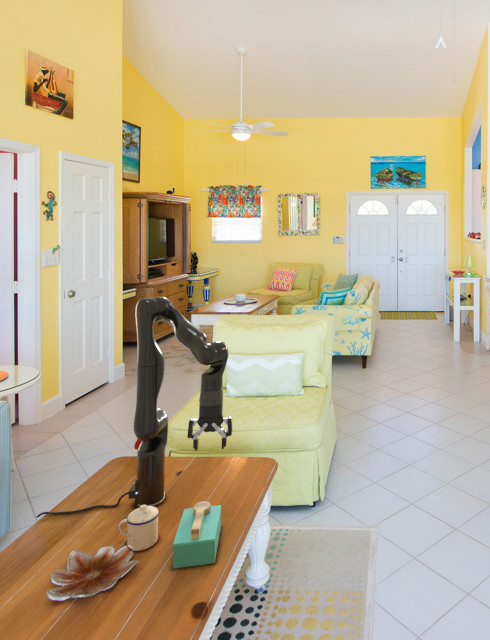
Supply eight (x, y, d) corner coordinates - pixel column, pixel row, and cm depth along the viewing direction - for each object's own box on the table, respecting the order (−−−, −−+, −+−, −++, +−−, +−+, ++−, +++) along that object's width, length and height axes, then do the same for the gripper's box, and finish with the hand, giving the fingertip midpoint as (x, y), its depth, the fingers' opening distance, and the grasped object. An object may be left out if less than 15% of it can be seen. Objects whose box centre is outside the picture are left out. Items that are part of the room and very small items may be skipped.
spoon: (204, 538, 138) (204, 528, 138) (185, 540, 137) (185, 530, 137) (211, 506, 155) (211, 497, 155) (194, 508, 153) (194, 499, 153)
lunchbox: (214, 563, 138) (214, 540, 138) (172, 568, 136) (173, 545, 136) (220, 527, 156) (221, 507, 156) (184, 531, 153) (184, 511, 153)
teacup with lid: (163, 533, 152) (163, 498, 152) (150, 552, 143) (150, 514, 143) (126, 533, 152) (127, 497, 152) (111, 552, 143) (111, 514, 143)
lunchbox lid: (214, 541, 138) (214, 539, 138) (172, 546, 135) (172, 544, 135) (221, 507, 156) (221, 504, 156) (184, 511, 153) (184, 508, 153)
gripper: (234, 396, 163) (232, 442, 163) (191, 398, 160) (189, 445, 160) (231, 404, 156) (230, 452, 156) (186, 406, 153) (185, 455, 153)
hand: (209, 448), depth 158 cm, fingers open, 8 cm apart
